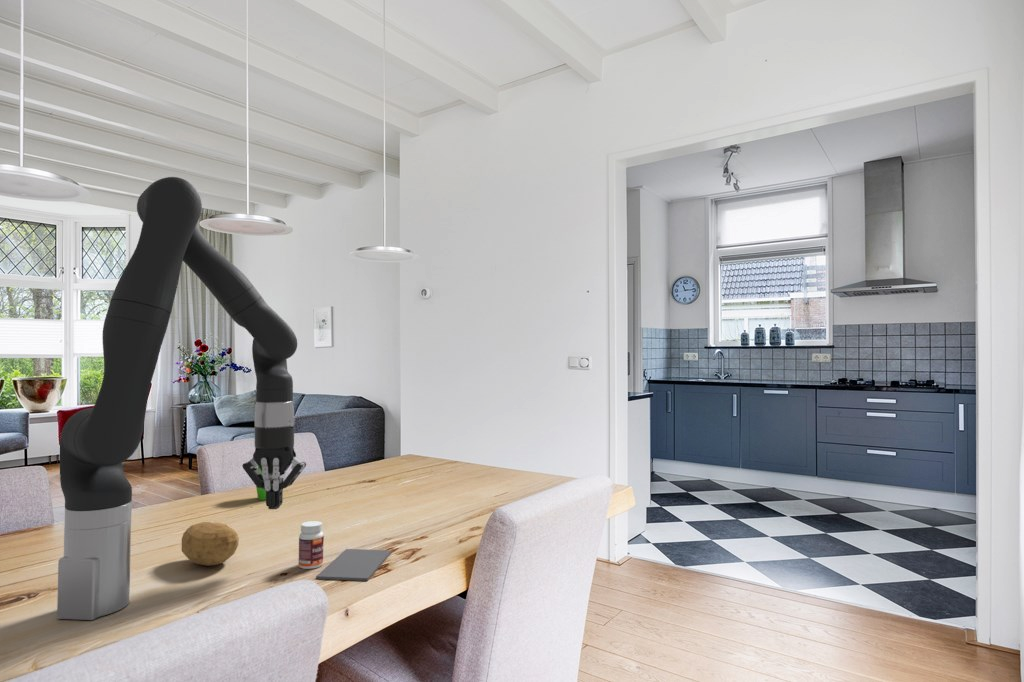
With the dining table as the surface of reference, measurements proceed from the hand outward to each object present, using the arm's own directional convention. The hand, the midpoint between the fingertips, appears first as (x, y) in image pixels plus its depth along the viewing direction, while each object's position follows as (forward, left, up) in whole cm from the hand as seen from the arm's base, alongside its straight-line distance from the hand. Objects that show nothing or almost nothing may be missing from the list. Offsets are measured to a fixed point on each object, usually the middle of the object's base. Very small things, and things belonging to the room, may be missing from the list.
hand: (274, 508), depth 121 cm
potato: (-1, +13, -11) cm, 17 cm away
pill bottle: (0, -8, -11) cm, 14 cm away
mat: (+1, -17, -11) cm, 20 cm away
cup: (+53, +28, -11) cm, 61 cm away
